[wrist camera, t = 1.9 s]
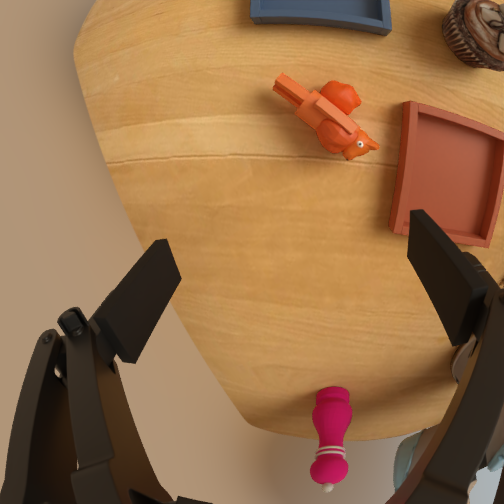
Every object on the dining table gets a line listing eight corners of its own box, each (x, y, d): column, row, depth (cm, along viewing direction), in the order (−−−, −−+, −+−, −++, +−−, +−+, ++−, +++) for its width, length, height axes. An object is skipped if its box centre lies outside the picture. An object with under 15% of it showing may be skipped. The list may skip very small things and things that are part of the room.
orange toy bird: (261, 90, 22) (363, 172, 24) (308, 42, 21) (402, 120, 23) (260, 106, 27) (346, 175, 29) (300, 63, 26) (381, 129, 28)
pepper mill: (351, 382, 44) (352, 484, 26) (351, 403, 46) (350, 495, 29) (311, 386, 46) (300, 486, 28) (315, 406, 48) (305, 497, 31)
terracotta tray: (500, 133, 22) (510, 135, 20) (480, 240, 29) (488, 248, 26) (403, 102, 24) (410, 100, 22) (387, 225, 31) (393, 233, 29)
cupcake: (462, 0, 15) (498, -24, 6) (505, 60, 17) (550, 54, 8) (421, 20, 19) (455, -8, 10) (469, 86, 21) (516, 81, 12)
